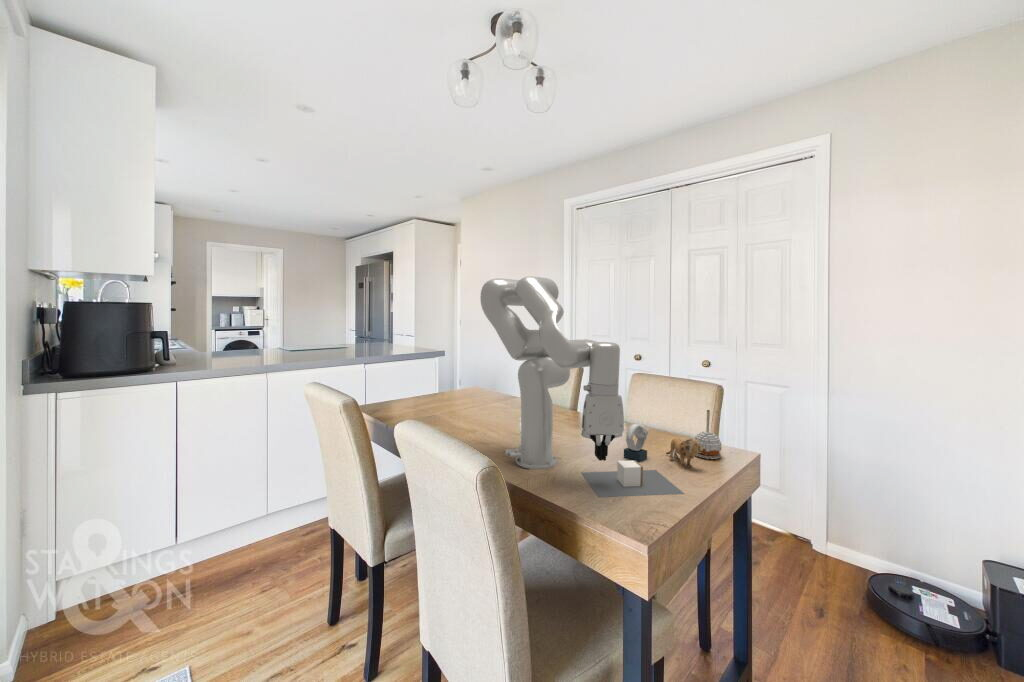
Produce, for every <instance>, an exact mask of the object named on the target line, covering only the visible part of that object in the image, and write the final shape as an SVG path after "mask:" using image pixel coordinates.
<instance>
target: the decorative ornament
mask: <svg viewBox="0 0 1024 682" xmlns="http://www.w3.org/2000/svg"><path fill="white" fill-rule="evenodd" d="M710 412H711V411H710V409H706V426H705V427H706V429H705V431H700V432H698V433H696V435H694V439H696V440H697V441H698V444H700V445H701V446H702V447H703V450H702V451H701V453H699V452H698V455H697V456H696V457H699V458H701V459H706V460H717V459H720V458H721V457H722V456H721V453H720V451H721V450H722V442H721V439H720V437H718V435H717V434H715V433H713V432H711V431H710V415H711V414H710Z"/></svg>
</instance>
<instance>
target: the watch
mask: <svg viewBox="0 0 1024 682" xmlns="http://www.w3.org/2000/svg"><path fill="white" fill-rule="evenodd" d="M648 435H649V432H648V429H647V428H646V427H645V426H644V425H643V424H640V423H632V424H630V425H629V426H628V428H627V432H626V439H625V441H626V444H627V447H626V448H624V449H623V459H627V460H628V461H631V460H636V461H637V462H638V463H642V462H644V461H646V460H647V459H648V450H646V449H643V447H644V445H645V441H646V440H647V438H648ZM634 436H635V439H637V440H636V442H635V439H634ZM635 443H636V444H635Z"/></svg>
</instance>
